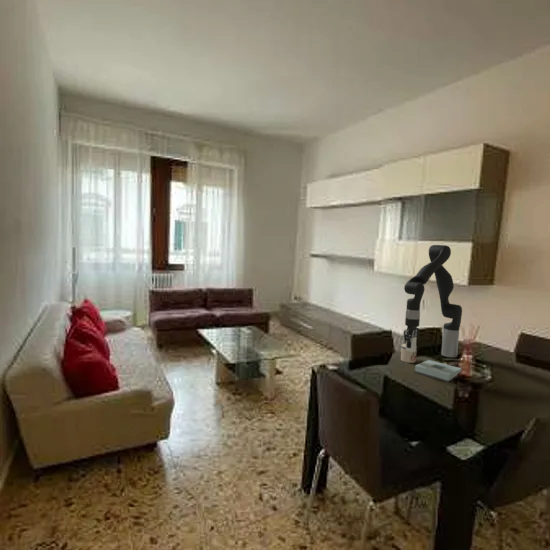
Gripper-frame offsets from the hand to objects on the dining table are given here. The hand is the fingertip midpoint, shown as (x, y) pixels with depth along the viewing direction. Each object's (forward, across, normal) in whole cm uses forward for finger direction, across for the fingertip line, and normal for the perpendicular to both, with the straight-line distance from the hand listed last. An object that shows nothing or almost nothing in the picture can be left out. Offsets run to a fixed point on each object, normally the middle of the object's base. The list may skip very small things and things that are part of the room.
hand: (410, 346), depth 211 cm
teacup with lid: (+12, -13, -7) cm, 19 cm away
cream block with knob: (+2, 0, 0) cm, 2 cm away
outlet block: (+12, -3, +15) cm, 19 cm away
